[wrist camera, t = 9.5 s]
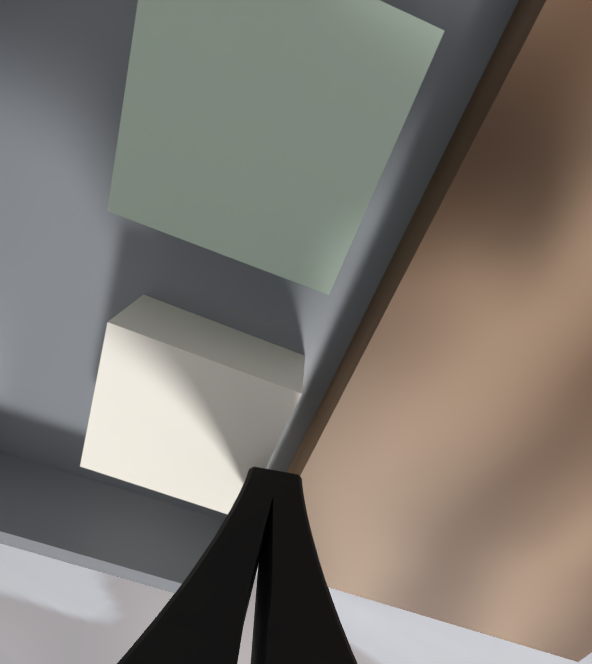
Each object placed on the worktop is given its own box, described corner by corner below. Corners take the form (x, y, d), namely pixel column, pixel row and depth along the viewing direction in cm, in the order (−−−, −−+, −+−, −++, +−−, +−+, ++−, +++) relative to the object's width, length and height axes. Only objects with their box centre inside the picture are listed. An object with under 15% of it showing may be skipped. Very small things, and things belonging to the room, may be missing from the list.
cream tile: (305, 355, 11) (301, 393, 9) (251, 469, 13) (241, 518, 12) (143, 294, 11) (107, 321, 9) (113, 422, 13) (80, 466, 11)
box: (547, -69, 7) (677, -200, 5) (254, 531, 15) (240, 612, 13) (-80, -388, 6) (-386, -802, 4) (-48, 437, 14) (-136, 504, 11)
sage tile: (417, 59, 8) (444, 30, 6) (327, 270, 10) (328, 294, 8) (193, -43, 8) (153, -105, 6) (147, 201, 10) (107, 211, 8)
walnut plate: (991, 222, 9) (1160, 239, 7) (549, 604, 16) (578, 661, 14) (517, -8, 8) (575, -57, 6) (262, 515, 15) (254, 564, 13)
